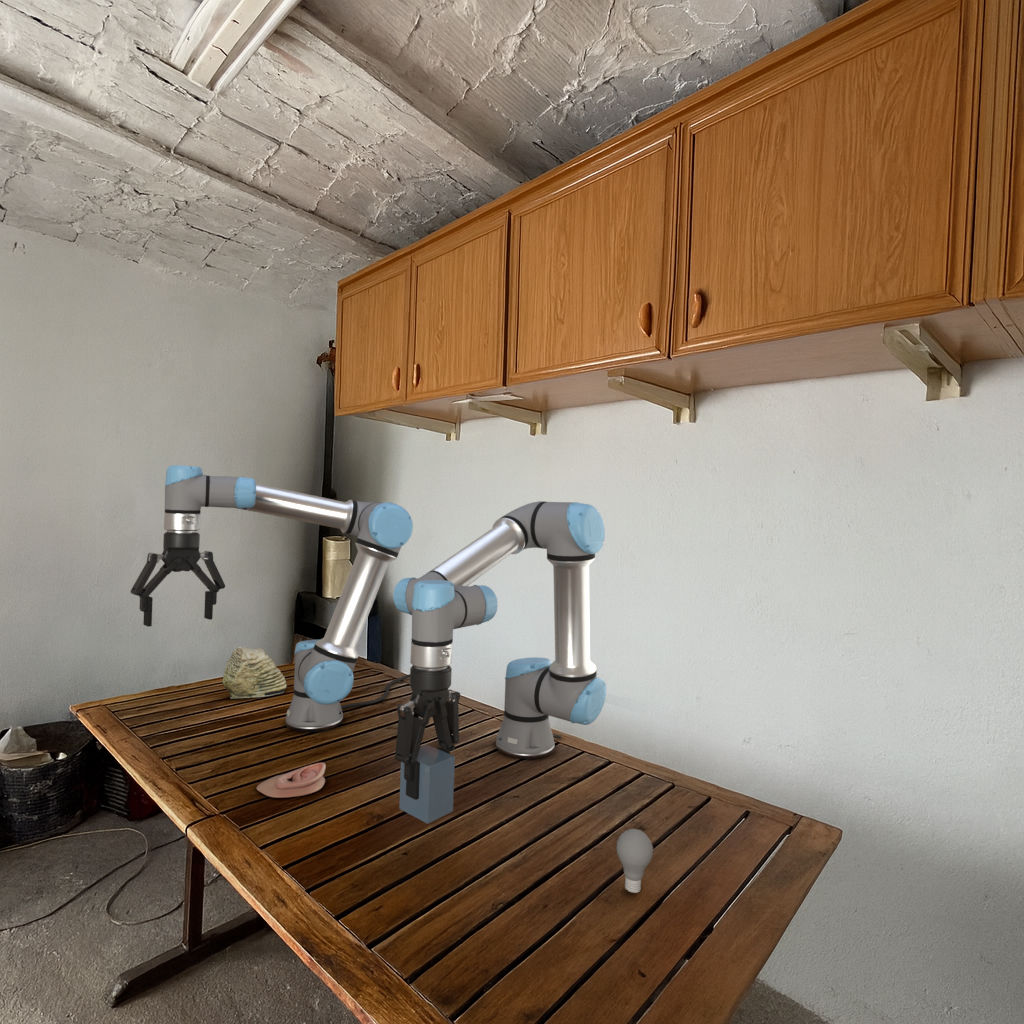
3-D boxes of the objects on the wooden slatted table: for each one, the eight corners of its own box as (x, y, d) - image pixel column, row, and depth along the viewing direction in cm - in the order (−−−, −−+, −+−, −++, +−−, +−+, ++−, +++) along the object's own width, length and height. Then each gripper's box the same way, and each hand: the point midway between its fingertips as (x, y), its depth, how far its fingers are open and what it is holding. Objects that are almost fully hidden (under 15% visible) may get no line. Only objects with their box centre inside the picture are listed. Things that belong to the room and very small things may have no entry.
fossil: (218, 695, 195) (220, 647, 195) (278, 685, 208) (279, 640, 207) (228, 703, 189) (230, 653, 188) (289, 692, 201) (290, 645, 201)
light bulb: (610, 879, 108) (613, 822, 108) (644, 879, 109) (647, 822, 109) (619, 902, 102) (622, 840, 102) (655, 901, 103) (658, 840, 103)
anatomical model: (248, 775, 133) (279, 754, 144) (247, 794, 133) (278, 771, 144) (306, 783, 130) (332, 761, 142) (305, 802, 130) (332, 779, 142)
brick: (427, 824, 111) (429, 766, 111) (399, 808, 116) (401, 753, 116) (453, 811, 116) (455, 756, 116) (424, 797, 121) (426, 744, 121)
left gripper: (128, 533, 136) (125, 631, 137) (241, 532, 155) (238, 618, 156) (116, 531, 141) (113, 625, 141) (227, 530, 160) (224, 613, 160)
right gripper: (403, 680, 106) (399, 816, 106) (482, 660, 121) (477, 779, 121) (375, 671, 111) (371, 801, 111) (454, 652, 125) (450, 767, 126)
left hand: (178, 622), depth 148 cm, fingers open, 13 cm apart
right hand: (426, 789), depth 116 cm, fingers closed on brick, 6 cm apart
